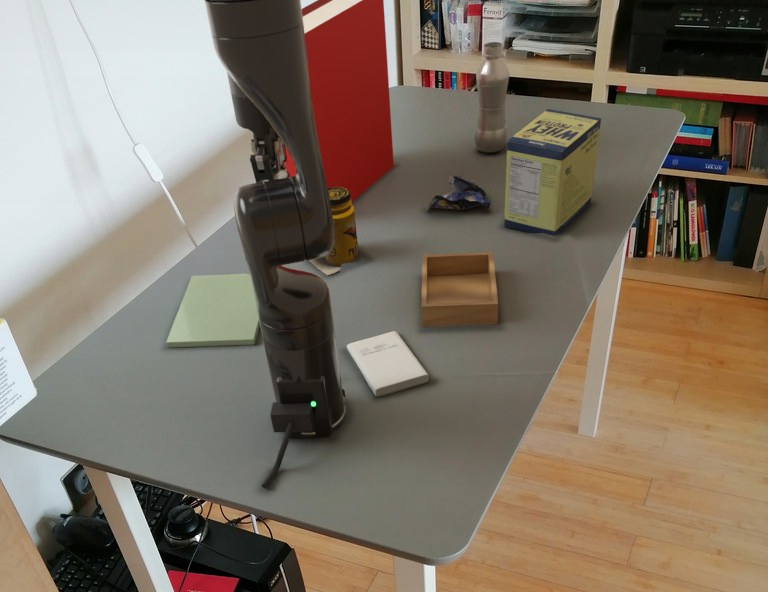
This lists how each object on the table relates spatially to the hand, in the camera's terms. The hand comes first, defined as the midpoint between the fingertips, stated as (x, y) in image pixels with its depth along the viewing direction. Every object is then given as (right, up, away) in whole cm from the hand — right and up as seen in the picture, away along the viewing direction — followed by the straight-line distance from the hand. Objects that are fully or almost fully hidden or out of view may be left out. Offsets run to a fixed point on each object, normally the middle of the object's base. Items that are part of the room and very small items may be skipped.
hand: (278, 205), depth 122 cm
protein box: (+46, +9, +28) cm, 55 cm away
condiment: (+8, -1, +22) cm, 24 cm away
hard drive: (+16, -24, 0) cm, 29 cm away
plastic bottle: (+38, +30, +50) cm, 70 cm away
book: (+8, +18, +41) cm, 46 cm away
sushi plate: (-11, -12, +13) cm, 21 cm away
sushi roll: (0, 0, 0) cm, 0 cm away
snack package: (+30, +12, +33) cm, 46 cm away
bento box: (+28, -12, +10) cm, 32 cm away
